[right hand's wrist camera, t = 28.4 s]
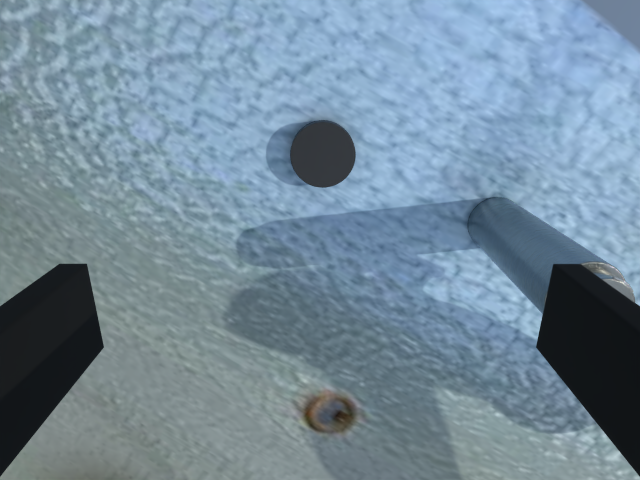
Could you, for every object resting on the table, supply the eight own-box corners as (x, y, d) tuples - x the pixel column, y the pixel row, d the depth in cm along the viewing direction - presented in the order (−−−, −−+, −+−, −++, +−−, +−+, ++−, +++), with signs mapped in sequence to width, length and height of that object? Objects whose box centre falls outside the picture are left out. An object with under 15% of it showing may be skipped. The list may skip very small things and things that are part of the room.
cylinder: (504, 254, 42) (611, 356, 26) (458, 237, 41) (540, 331, 26) (530, 207, 40) (661, 288, 25) (483, 189, 39) (586, 259, 24)
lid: (287, 124, 37) (285, 126, 36) (351, 116, 37) (352, 118, 36) (296, 186, 39) (295, 190, 38) (356, 179, 39) (358, 183, 37)
